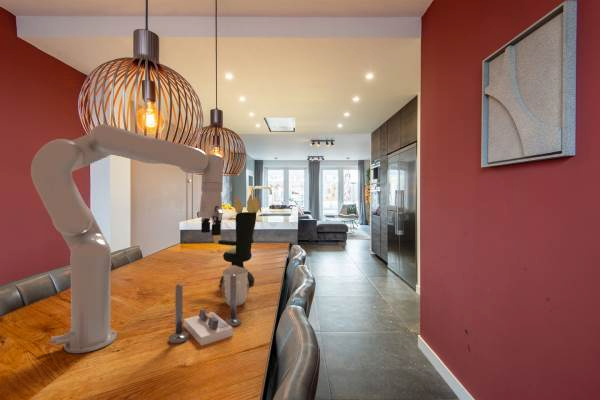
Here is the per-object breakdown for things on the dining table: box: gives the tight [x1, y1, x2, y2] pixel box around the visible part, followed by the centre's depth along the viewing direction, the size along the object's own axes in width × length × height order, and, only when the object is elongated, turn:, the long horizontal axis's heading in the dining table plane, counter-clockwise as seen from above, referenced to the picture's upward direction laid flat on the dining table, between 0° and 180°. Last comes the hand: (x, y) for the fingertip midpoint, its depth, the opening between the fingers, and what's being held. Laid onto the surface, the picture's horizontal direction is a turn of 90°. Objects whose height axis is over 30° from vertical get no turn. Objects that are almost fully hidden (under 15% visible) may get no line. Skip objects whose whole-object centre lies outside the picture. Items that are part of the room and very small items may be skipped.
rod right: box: [224, 274, 242, 328], centre depth 100 cm, size 6×6×17 cm
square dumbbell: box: [198, 308, 218, 329], centre depth 95 cm, size 2×12×2 cm, turn 39°
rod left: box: [168, 283, 190, 345], centre depth 89 cm, size 6×6×17 cm
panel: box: [183, 311, 234, 347], centre depth 95 cm, size 10×16×3 cm, turn 39°
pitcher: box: [221, 264, 250, 307], centre depth 118 cm, size 11×18×14 cm, turn 21°
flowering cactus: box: [212, 193, 260, 287], centre depth 143 cm, size 19×22×45 cm
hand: (210, 233), depth 108 cm, fingers open, 9 cm apart
